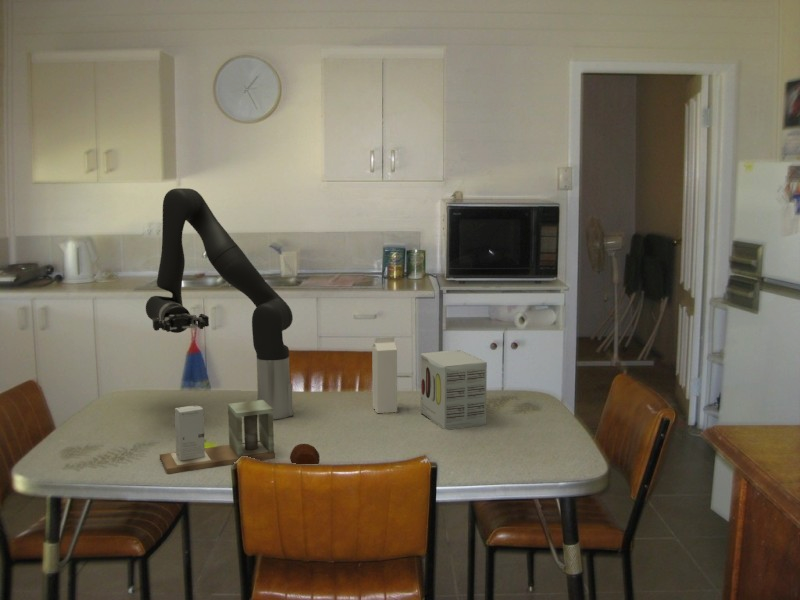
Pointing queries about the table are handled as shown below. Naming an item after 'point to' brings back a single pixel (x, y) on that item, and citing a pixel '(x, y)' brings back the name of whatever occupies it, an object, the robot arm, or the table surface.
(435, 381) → the supplement box
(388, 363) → the milk
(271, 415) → the board
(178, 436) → the skincare box
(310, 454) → the potato
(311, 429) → the table surface
